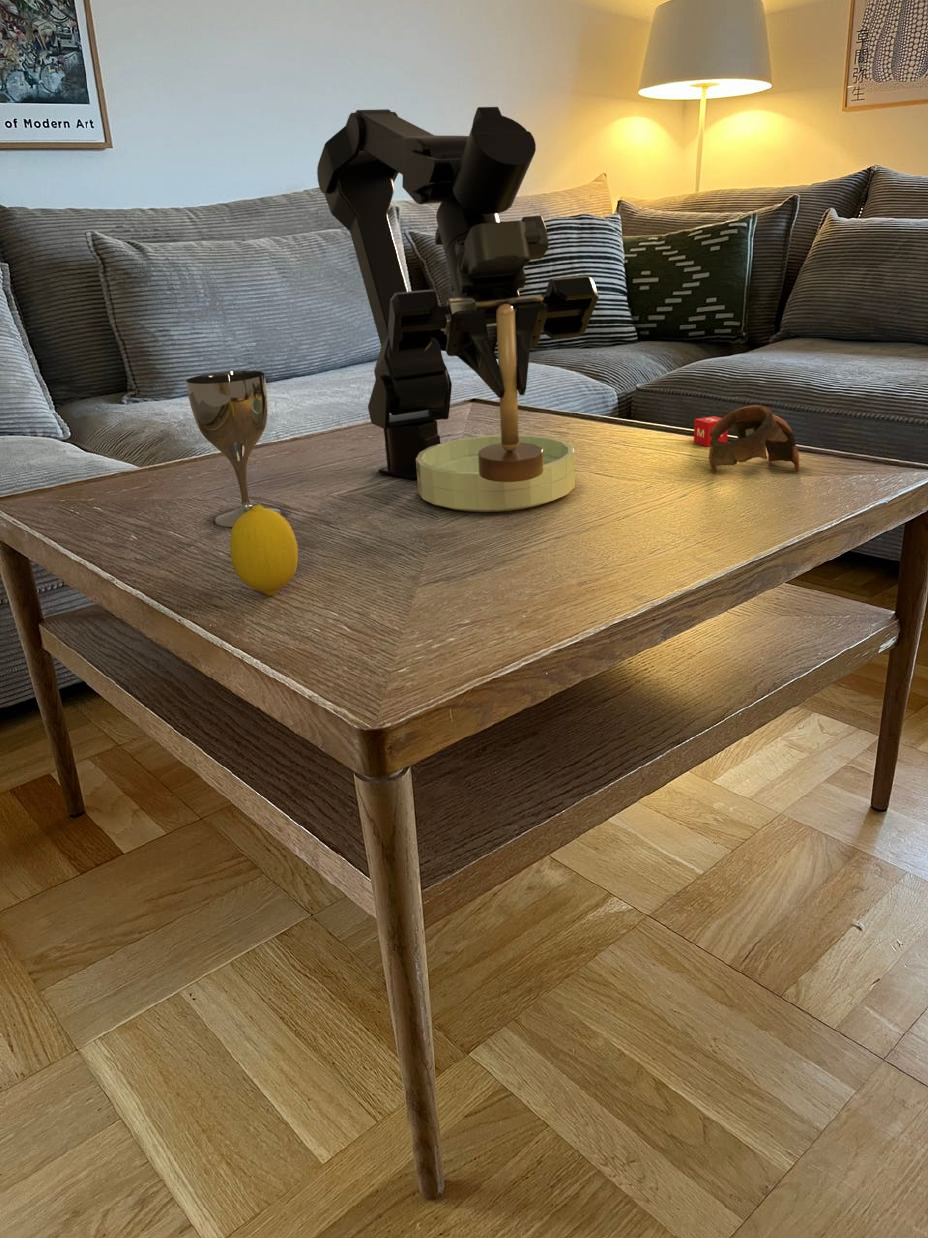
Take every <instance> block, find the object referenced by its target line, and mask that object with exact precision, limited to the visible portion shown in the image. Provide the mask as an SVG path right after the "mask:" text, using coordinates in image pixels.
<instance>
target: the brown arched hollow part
mask: <svg viewBox="0 0 928 1238" xmlns="http://www.w3.org/2000/svg"><path fill="white" fill-rule="evenodd" d="M721 418H722V419H720V420H719V421H718V422H717V423H716V424H715V425H714V426H713V428H712V429H711V431H710V434H709V435H710V436H711V438H712V439H711V441H710V444H711V446H709V447H710V448H709V454H708V461H709V466H710V469H711V471H712V472H713V473H715V472H716V471H717V466H718V467H719V466H732V467H733V466H736V465H737V464H738V463H740V464H741V463H746V462H748V461H750V460H752V459H756V458H759V459H760V458H761V459H762V460H767V461H768V462H769V463H773V462H779V461H784V462H790V463H792V464H793V465H794V470H795V472H796V473H799V472H800V470H801V466H800V453H799V449H798V447H797V444H796V439H795V435H794V432H793V430H792V428H791V426H790V425H789V423H788V422H787V421H786V420H784V419H782V418H781V417H780V416H777V415H776V414H773V413H772V410H771V409H770V408H769V407H767V406H764V405H762V404H752V405H751V404H750V405H747V406H742V407H740V408H737V409H735V410H733V411H731V412H729V413H727V414H726V415H724V416H723V417H721ZM732 427H733V431H734V433H735V434H736V437H737V439H736V440H733V441H732V440H731V441H727V442H720V441H718V439H719V437H720V436H721V435H722V434H723V433H724V432H725V431H726V430H727V429H728V430H729V429H731V428H732Z"/></svg>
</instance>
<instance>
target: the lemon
mask: <svg viewBox="0 0 928 1238" xmlns="http://www.w3.org/2000/svg"><path fill="white" fill-rule="evenodd" d="M252 506H253V507H252V509H251V510H249V511H247V512H246V513H244V514H243V515H242V516H240V517H239V519H238V520H237V521H236V523H235V524H234V526H233V527H231V532H230V537H229V552H230V553H229V554H230V560H231V563H232V566H233V569H234V572H235V574H236V575H237V577H238V579H240V581H242V583H244V584H245V585H246V586H247V587H249V588H250V589H253V590H255V591H261V592H262V593H264V594H265V595H266V596H269V597H270V596H275V595H276V593H277V592H278V591H279V590H280V589H281V588H282V587H285V585H287V584H288V583H290V581H291V580H292V578H293V577H294V575H295V574H296V571H297V568H298V560H299V548H298V541H297V539H296V535H295V533H294V531H293V528H292V527H291V525H290V523H289V521H288V520H287V519H286V518H285V517H284V516H283V515H280V514H279V513H277V512H275V511H273V510H270V509H266V508H263V507H264V506H262V504H254V505H252Z"/></svg>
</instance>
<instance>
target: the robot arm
mask: <svg viewBox="0 0 928 1238" xmlns="http://www.w3.org/2000/svg"><path fill="white" fill-rule="evenodd" d="M473 116H474V117H473V120H472V125H471V128H470V132H469V135H438V134H436V135H435V134H433V133H431V132H429V131H427V130H425V129H423V128H421V127H419V126H417V125H416V124H413V123H412V122H409V121H408V120H406V119H404V118H402V117H400V116H399V115H398V114H397V113H396V111H391V110H390V109H388V108H387V109H385V108H384V109H356V110H355V112H350V114H349V115H348V117H347V121H346V124H345V126H344V127H342V128H341V129H340V130H339V131H338V132H336V133H335V134H333V136H331V138H329V139H328V140H327V141H326V142H325V143H324V145H323V148H322V151H321V154H320V158H319V160H318V162H317V166H316V167H317V170H316V174H317V175H316V176H317V182H318V187H319V190H320V192H321V193H322V194H323V195H324V198H325V200H326V203H327V206H328V209H329V211H330V214H331V215H332V216H333V217H334V218H335V219H336V220H337V221H338V222H339V223H340V224H341V225H342V226H343V227H345V229H346V230H348V232H349V234H350V237H351V241H352V244H353V248H354V251H355V254H356V259H357V263H358V267H359V270H360V274H361V279H362V281H363V285H364V288H365V292H366V295H367V299H368V303H369V306H370V307H369V308H370V310H371V314H372V318H373V321H374V324H375V329H376V332H377V336H378V339H379V343H380V350H379V353H378V356H377V359H376V364H375V367H374V370H373V373H374V378H375V381H374V384H373V387H372V391H371V394H370V398H369V401H368V403H367V410H368V414H369V418H370V423H371V424H372V425H374V426H376V427H378V428H380V429H383V435H384V446H385V456H386V465H385V466H382V467H380V468H378V474H382V475H388V476H393V477H398V478H399V477H400V478H404V479H410V480H417V469H416V458H417V456H418V454H419V453H420V452H421V451H423V450H425V449H427V448H429V447H431V446H434V445H438V444H441V435H440V433H439V429H438V421H439V420H445V421H446V420H449V417H450V411H451V399H452V388H453V387H452V386H453V383H452V379H451V375H450V374H449V373H450V372H449V371H448V368H447V366H446V363H445V361H444V358H443V354H442V349H441V344H440V343H439V341H438V340H437V338H436V337H432V335H431V331H435V330H440V331H441V332H444V335H446V339H447V340H446V345H445V353H446V355H447V356H448V357H457V358H458V359H460V360H461V362H463V363H464V364H465V365H467V366H468V367H469V368H470V369H471V370H473V372H474V373H475V374H476V375H477V376H479V377H480V379H481V380H482V381H483V382H484V383H485V385H487V386H488V388H489V389H490V390H491V392H493V393H494V395H496V396H497V398H498V399H500V398H503V397H504V393H505V389H504V384H503V379H502V374H501V371H500V368H499V366H498V359H497V356H496V354H495V351H494V348H493V345H492V342H491V339H490V336H489V332H488V331H489V330H488V327H497V317H496V312H497V309H498V308H499V307H500V306H501V305H503V304H509V305H511V306H512V307H513V309H514V311H515V334H516V367H517V393H518V395H519V396H524V395H525V394H526V391H527V385H528V375H529V362H530V354H531V353H530V351H531V349H532V348H535V347H537V346H538V345H539V342H540V340H541V336H542V334H544V335H546V336H547V337H549V338H550V339H552V340H557V339H565V338H566V339H567V338H575V337H579V336H581V335H583V334H584V333H586V330H587V328H588V325H589V323H590V321H591V318H592V316H593V314H594V310H595V308H596V305H597V303H598V300H599V298H600V296H599V294H598V289H597V286H596V283H595V281H594V280H593V279H592V277H590V276H587V275H575V276H565V277H564V276H563V277H554V278H553V277H551V278H549V280H548V284H547V286H546V290H545V293H544V294H532V295H521V296H520V291H519V289H524V288H525V285H526V281H527V276H526V273H525V269H524V268H525V266H526V265H527V264H529V263H530V262H531V261H535V260H542V259H543V257H544V256H545V254H546V253H547V252H548V250H549V236H548V230H547V227H546V224H545V220H544V218H543V216H542V215H532V216H523V217H522V218H521V220H509V221H508V220H507V221H500V218H499V215H498V214H501V213H505V212H506V211H508V210H509V209H510V208H512V206H513V203H514V202H515V199H516V197H517V194H518V192H519V190H520V188H521V186H522V184H523V181H524V179H525V177H526V174H527V172H528V170H529V168H530V165H531V163H532V161H533V158H534V156H535V153H536V151H537V149H536V148H537V146H536V145H537V144H536V140H535V137H534V136H533V134H532V132H531V131H529V130H527V129H526V128H525V127H524V126H523V125H522V124H521V123H519V122H518V121H516V120H514V119H512V118H510V117H508V116H504V115H502V113H501V110H500V109H499V106H478V107H477V108H476V110H475V113H474V115H473ZM399 174H400V175H402V183H401V185H402V186H401V187H402V189H403V190H404V191H405V192H406V193H407V194H408V195H409V197H410V198H411V199H412V200H413V201H414V202H415V203H416V204H417V205H434V204H439V206H438V208H437V210H436V213H435V214H436V215H435V218H436V219H435V220H436V224H437V228H436V231H435V235H434V244H435V245H437V246H442V247H443V251H444V256H445V260H446V264H447V268H448V273H449V276H450V278H449V286H450V290H451V292H454V293H453V294H454V296H455V297H449V298H448V299H447V300H446V301H447V302H446V305H441V306H440V305H439V306H438V302H439V301H438V297H437V291H436V290H434V289H422V290H410V291H409V290H408V286H407V282H406V279H405V275H404V271H403V268H402V265H401V260H400V256H399V254H398V249H397V246H396V243H395V239H394V234H393V232H392V231H393V230H392V228H391V224H390V221H389V216H388V213H389V209H390V206H391V203H392V200H393V196H394V193H395V186H394V183H395V181H396V179H397V177H398V175H399Z"/></svg>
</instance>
